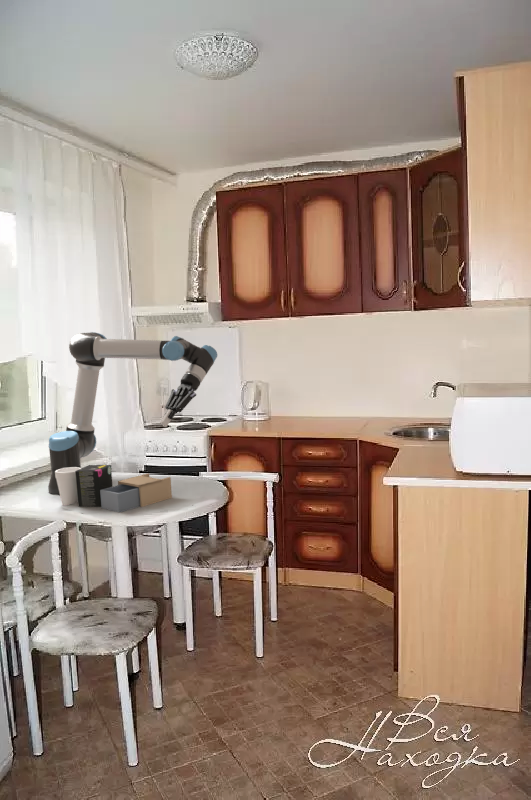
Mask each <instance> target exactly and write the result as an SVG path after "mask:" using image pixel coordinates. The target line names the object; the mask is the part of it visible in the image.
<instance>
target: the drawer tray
mask: <svg viewBox="0 0 531 800" xmlns="http://www.w3.org/2000/svg"><path fill="white" fill-rule="evenodd" d="M100 495H101V507H100V508H101V509H105V510H109V511H112V512H117V513H123V512H126V511H129V510H132V509H135V508H139V507H140V493H139V487H135V486H129V485H124V484H121V485H112V487H110V488H106V489H102V490H100Z"/></svg>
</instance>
